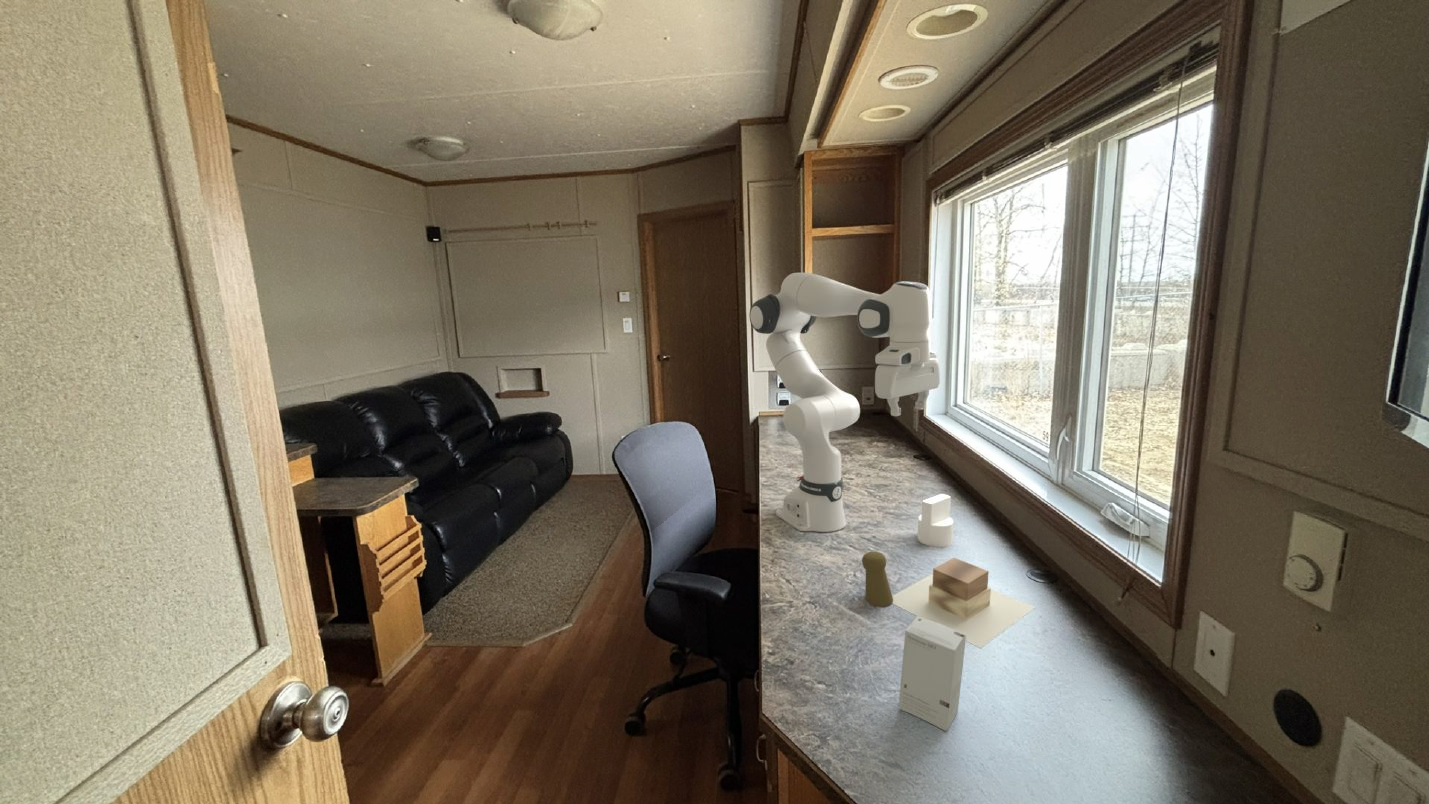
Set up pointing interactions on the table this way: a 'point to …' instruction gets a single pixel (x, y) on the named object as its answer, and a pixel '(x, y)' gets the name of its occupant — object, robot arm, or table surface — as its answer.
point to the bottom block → (959, 602)
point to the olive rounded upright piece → (876, 580)
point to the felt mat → (976, 628)
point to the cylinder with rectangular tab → (936, 522)
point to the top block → (960, 578)
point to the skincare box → (932, 672)
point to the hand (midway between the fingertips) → (908, 412)
